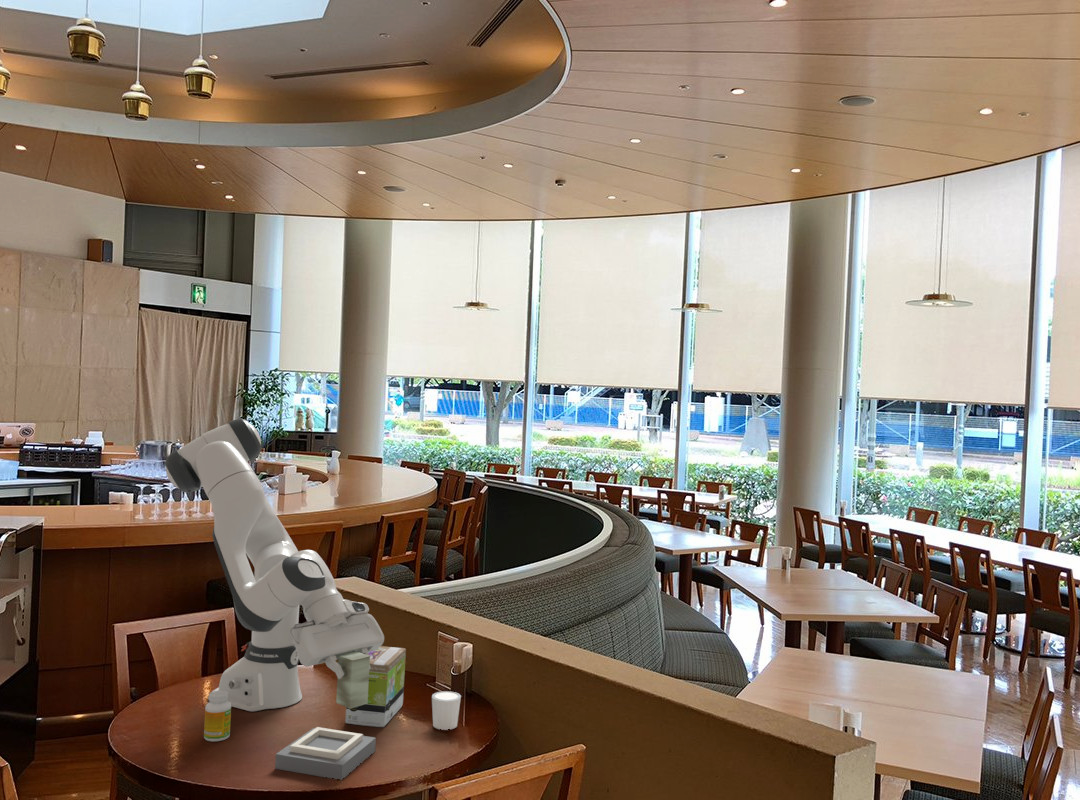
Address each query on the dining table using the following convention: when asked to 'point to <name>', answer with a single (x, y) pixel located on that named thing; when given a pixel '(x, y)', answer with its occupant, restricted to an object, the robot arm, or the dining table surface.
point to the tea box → (381, 688)
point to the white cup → (445, 709)
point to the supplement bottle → (217, 717)
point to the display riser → (326, 753)
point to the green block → (353, 680)
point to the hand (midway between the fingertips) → (355, 673)
